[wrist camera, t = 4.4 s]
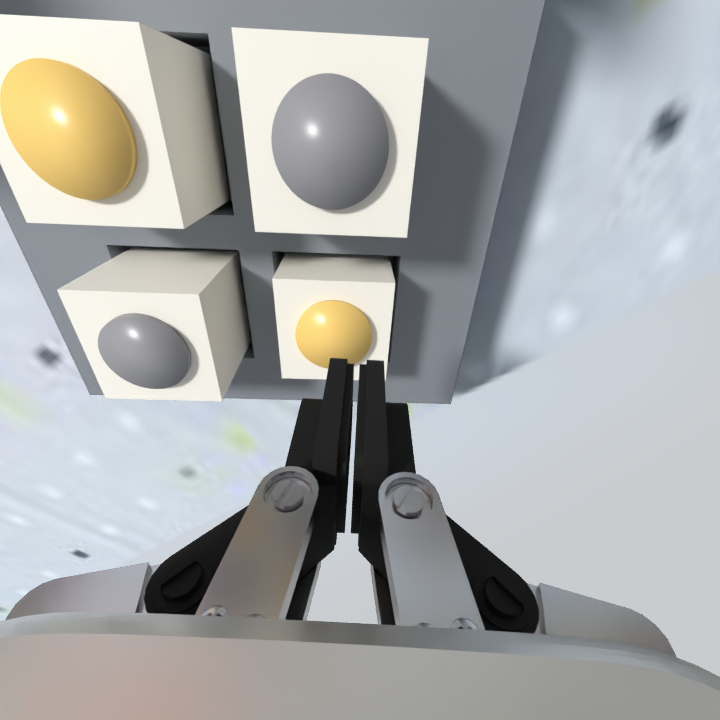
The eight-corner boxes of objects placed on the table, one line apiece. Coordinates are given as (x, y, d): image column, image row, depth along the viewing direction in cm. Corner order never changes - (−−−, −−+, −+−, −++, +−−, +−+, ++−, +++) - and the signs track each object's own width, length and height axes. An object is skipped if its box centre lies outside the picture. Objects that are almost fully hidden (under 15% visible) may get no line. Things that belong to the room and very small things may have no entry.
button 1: (209, 53, 13) (131, 19, 8) (230, 199, 15) (180, 231, 11) (71, 46, 13) (-82, 7, 8) (116, 195, 15) (19, 224, 11)
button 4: (386, 246, 18) (396, 285, 14) (379, 329, 21) (386, 385, 17) (291, 242, 18) (270, 281, 14) (296, 326, 21) (280, 382, 16)
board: (517, -29, 13) (561, -70, 11) (439, 368, 23) (450, 403, 20) (-38, -63, 13) (-153, -116, 10) (124, 359, 23) (90, 394, 20)
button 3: (405, 64, 13) (430, 36, 9) (393, 206, 16) (408, 240, 11) (271, 57, 13) (227, 24, 8) (282, 201, 16) (252, 234, 11)
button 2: (238, 251, 17) (195, 298, 12) (251, 340, 19) (219, 406, 15) (131, 247, 17) (50, 293, 12) (159, 337, 19) (101, 403, 15)
